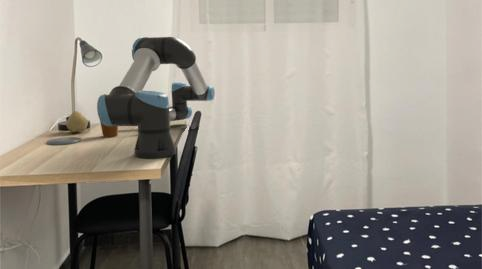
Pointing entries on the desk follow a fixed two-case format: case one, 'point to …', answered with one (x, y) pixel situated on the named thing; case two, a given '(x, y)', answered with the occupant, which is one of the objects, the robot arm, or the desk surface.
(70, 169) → the desk surface
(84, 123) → the tan rounded lump
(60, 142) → the saucer
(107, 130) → the disposable coffee cup
